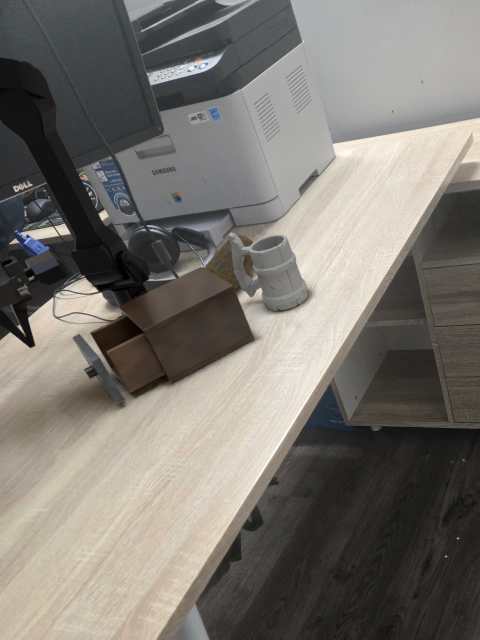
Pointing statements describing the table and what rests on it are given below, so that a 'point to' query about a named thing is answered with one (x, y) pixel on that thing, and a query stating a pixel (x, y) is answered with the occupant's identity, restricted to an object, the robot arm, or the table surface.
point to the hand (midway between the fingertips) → (32, 346)
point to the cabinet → (190, 322)
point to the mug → (270, 271)
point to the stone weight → (229, 262)
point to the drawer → (121, 356)
